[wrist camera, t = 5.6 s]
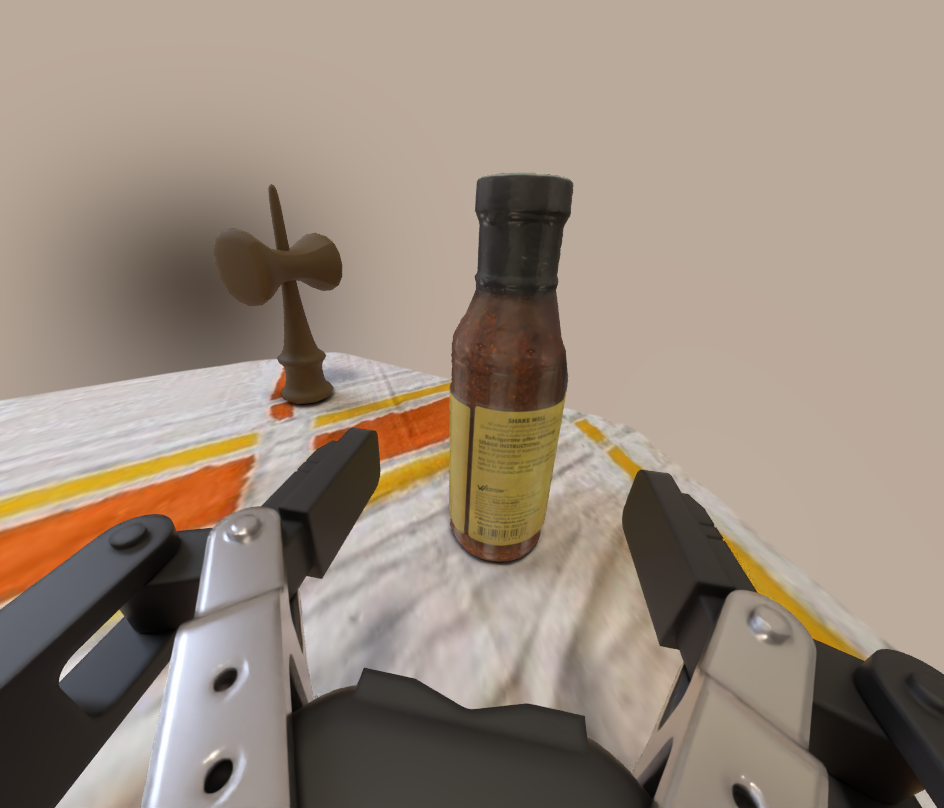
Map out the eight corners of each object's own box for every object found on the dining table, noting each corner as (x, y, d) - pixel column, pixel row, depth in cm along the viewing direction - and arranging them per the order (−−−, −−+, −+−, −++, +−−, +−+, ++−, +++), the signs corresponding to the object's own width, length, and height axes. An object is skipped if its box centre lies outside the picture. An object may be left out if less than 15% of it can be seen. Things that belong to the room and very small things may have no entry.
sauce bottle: (556, 526, 23) (642, 187, 14) (503, 589, 19) (577, 158, 10) (483, 481, 27) (514, 188, 18) (424, 525, 23) (425, 168, 13)
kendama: (249, 408, 35) (185, 174, 25) (320, 376, 43) (291, 190, 33) (294, 423, 33) (242, 176, 23) (359, 386, 41) (340, 192, 31)
